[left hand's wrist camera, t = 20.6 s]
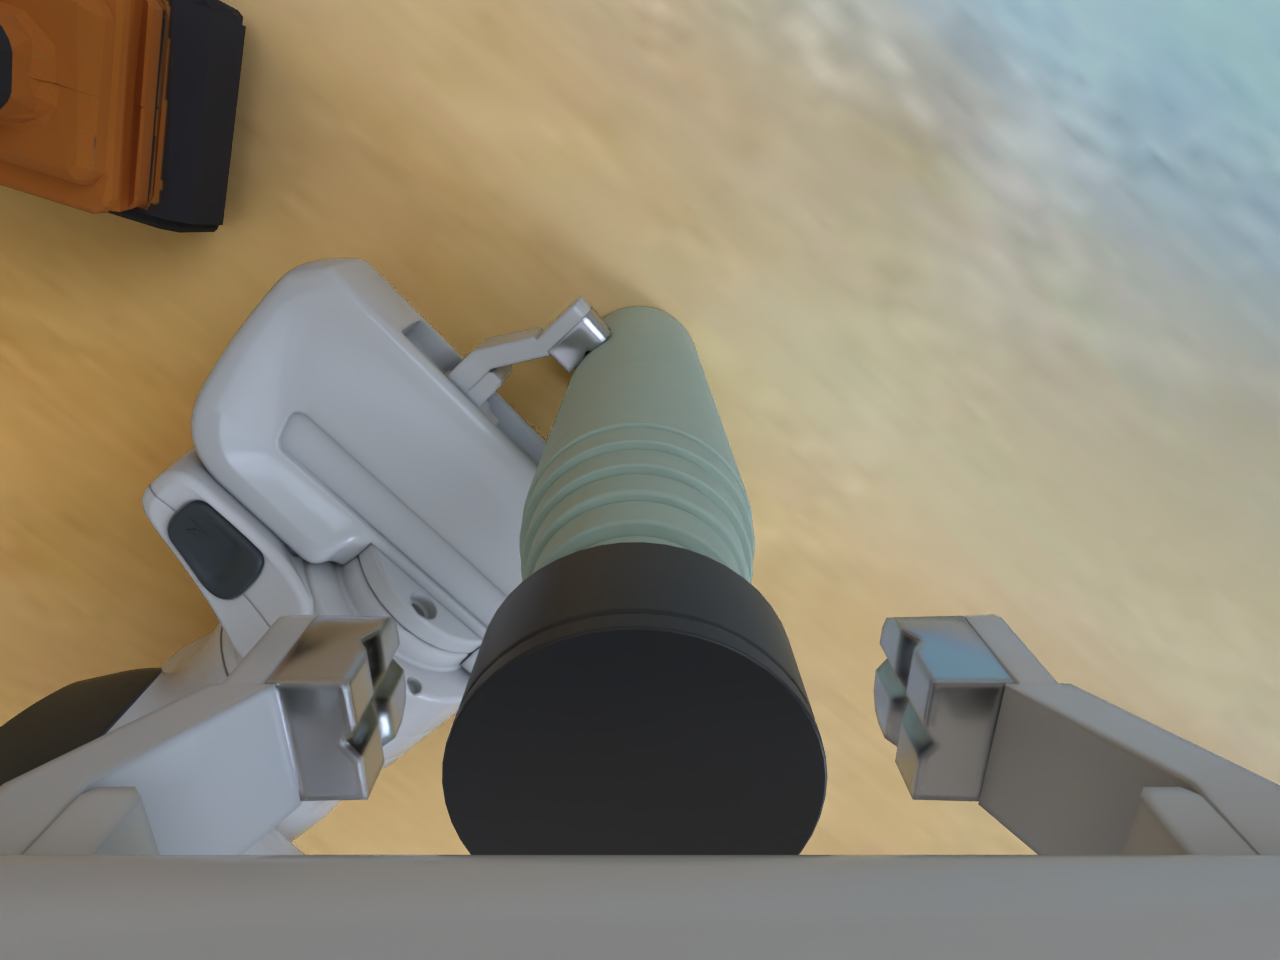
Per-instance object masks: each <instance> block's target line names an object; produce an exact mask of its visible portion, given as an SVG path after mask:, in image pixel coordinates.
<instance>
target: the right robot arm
mask: <svg viewBox="0 0 1280 960" xmlns="http://www.w3.org/2000/svg"><path fill="white" fill-rule="evenodd" d="M610 330H611V328H610V327H609V326H608V324H607V323H606V322H605V321H604V320H603V319H602V317H601V316H600V315H599V314H598V313H597V312H596V311H595V309H594V308H593V307H591V305H590V304H589V303H588V302H587V300H586V299H585V298H584V297H583V296H582V295H581V296H580V297H578V298H577V299H576V300H575V301H573V302H572V303H571V304H570V305H569V306H568V307H567V308H566V309H565V310H564V311H563V312H562V313H561V314H560V315H559V316H558V317H556V318H555V319H554V320H553V321H552V322H551V323H550V324H549V325H548V326H547V327H546V328H545V329H544V330H543V329H542V328H541V327H539V328H534V329H529V330H524V331H520V332H515V333H510V334H505V335H500V336H496V337H491V338H486V339H485V340H484V341H483V342H481V343H480V344H479V345H478V346H477V347H476V348H475V349H474V350H473V351H472V352H471V353H470V354H469V355H468V356H467V357H466V358H465V359H464V358H463V357H462V356H461V355H460V354H459V353H458V352H457V351H456V350H455V349H454V348H453V347H452V346H451V345H450V344H449V343H448V342H447V341H446V340H445V339H444V338H443V337H442V336H441V335H440V334H439V333H438V332H437V331H436V330H435V329H434V328H433V327H432V326H431V325H430V324H429V323H428V322H427V321H426V320H425V319H424V318H423V317H422V316H421V315H420V314H419V313H418V312H417V311H416V310H415V309H414V308H413V307H412V306H411V305H410V304H409V303H408V302H407V301H406V300H405V299H404V298H403V297H402V296H401V295H400V294H399V293H398V292H397V291H396V290H395V289H394V288H393V287H392V286H391V285H390V284H389V283H388V282H387V281H386V280H385V279H384V278H383V277H382V275H381V274H380V273H379V272H378V271H377V270H376V269H375V268H374V267H372V266H371V265H370V264H369V263H368V262H366V261H365V260H362V259H358V258H327V259H319V260H313V261H310V262H307V263H304V264H302V265H299V266H297V267H295V268H294V269H292V270H290V271H289V272H288V273H286V274H285V275H284V276H283V277H282V278H281V279H280V280H279V281H278V282H277V283H276V284H275V285H274V286H273V287H272V288H271V289H270V290H269V292H268V293H267V294H266V295H265V296H264V298H263V299H262V300H261V301H260V303H259V304H258V305H257V306H256V307H255V309H254V310H253V311H252V313H251V314H250V315H249V316H248V318H247V319H246V320H245V322H244V323H243V324H242V326H241V327H240V328H239V330H238V331H237V333H236V334H235V335H234V337H233V338H232V340H231V341H230V343H229V344H228V345H227V347H226V348H225V350H224V351H223V353H222V354H221V356H220V357H219V359H218V361H217V362H216V364H215V365H214V367H213V369H212V370H211V372H210V374H209V375H208V377H207V378H206V380H205V382H204V384H203V386H202V387H201V389H200V391H199V393H198V396H197V398H196V401H195V404H194V407H193V412H192V417H191V435H192V440H193V444H194V447H193V448H191V449H190V450H189V451H187V452H186V453H185V454H183V455H182V456H181V457H179V458H178V459H177V460H176V461H174V462H173V463H172V464H171V465H170V466H169V467H167V468H166V469H165V470H164V471H163V472H162V473H161V474H160V475H159V476H157V477H156V478H155V479H154V480H153V481H152V482H151V484H150V485H149V486H148V487H147V489H146V490H145V492H144V494H143V497H142V505H143V509H144V512H145V514H146V516H147V518H148V519H149V521H150V523H151V524H152V525H153V527H154V528H155V530H156V531H157V532H158V534H159V535H160V536H161V538H162V539H163V540H164V541H165V543H166V544H167V545H168V547H169V548H170V549H171V551H172V552H173V553H174V555H175V556H176V557H177V559H178V560H179V561H180V563H181V564H182V565H183V567H184V568H185V570H186V571H187V572H188V574H189V575H190V577H191V578H192V579H193V581H194V582H195V584H196V585H197V587H198V588H199V590H200V591H201V593H202V594H203V596H204V597H205V599H206V600H207V602H208V603H209V605H210V606H211V608H212V610H213V611H214V613H215V615H216V616H217V618H218V620H219V623H218V625H217V626H216V628H215V630H214V631H213V632H212V633H210V634H208V635H205V636H203V637H201V638H198V639H197V640H195V641H193V642H191V643H189V644H188V645H186V646H185V647H183V648H182V649H180V650H179V651H177V652H176V653H175V654H174V655H173V656H172V657H171V658H169V659H168V660H167V661H166V662H165V663H164V664H163V665H162V666H161V667H160V668H144V669H136V670H129V671H124V672H119V673H114V674H110V675H105V676H101V677H96V678H92V679H87V680H83V681H78V682H75V683H72V684H70V685H68V686H66V687H63V688H61V689H60V690H58V691H56V692H54V693H52V694H50V695H48V696H47V697H45V698H43V699H41V700H40V701H38V702H36V703H35V704H33V705H32V706H30V707H29V708H27V709H25V710H24V711H22V712H21V713H20V714H18V715H17V716H15V717H14V718H12V719H11V720H9V721H8V722H7V723H5V724H4V725H3V726H1V727H0V787H1V786H2V785H3V784H4V783H6V782H8V781H10V780H12V779H14V778H16V777H18V776H20V775H23V774H25V773H27V772H29V771H31V770H33V769H35V768H37V767H39V766H41V765H43V764H45V763H47V762H49V761H51V760H53V759H56V758H58V757H60V756H62V755H64V754H66V753H68V752H70V751H72V750H74V749H76V748H78V747H80V746H82V745H84V744H87V743H89V742H91V741H93V740H95V739H97V738H99V737H101V736H103V735H105V734H107V733H109V732H111V731H113V730H115V729H117V728H120V727H122V726H124V725H126V724H128V723H130V722H132V721H134V720H136V719H138V718H140V717H142V716H144V715H146V714H148V713H151V712H153V711H155V710H157V709H159V708H161V707H163V706H165V705H167V704H169V703H171V702H173V701H175V700H177V699H179V698H181V697H184V696H186V695H188V694H190V693H192V692H194V691H196V690H198V689H200V688H202V687H204V686H206V685H208V684H222V683H223V681H224V680H225V679H226V678H227V677H228V676H229V674H230V673H231V672H232V671H233V670H234V669H235V667H236V666H237V665H238V664H239V663H240V662H241V661H242V659H243V658H244V657H245V656H246V655H247V654H248V652H249V651H250V650H251V649H252V648H253V647H254V645H255V644H256V643H257V642H258V641H259V640H260V639H261V637H262V636H263V635H264V634H265V633H266V632H267V630H268V629H269V628H270V627H271V626H272V625H273V623H274V622H275V621H276V620H277V619H278V618H279V617H282V616H286V615H319V616H322V615H337V616H388V617H392V618H393V619H394V621H395V622H396V623H397V628H398V634H399V639H400V645H399V647H398V649H397V651H396V652H395V654H394V656H393V659H394V660H395V661H396V662H397V663H398V664H399V665H400V666H401V667H402V669H403V670H404V674H405V681H406V704H405V709H404V714H403V719H402V723H401V726H400V728H399V731H398V733H397V735H396V738H394V739H393V740H392V741H390V742H389V743H387V744H386V745H384V746H383V753H384V760H385V762H384V764H383V766H382V769H383V768H385V767H387V766H388V765H390V764H391V763H393V762H394V761H395V760H397V759H398V758H400V757H401V756H402V755H403V754H404V753H406V752H407V751H408V750H409V749H411V748H412V747H413V746H415V745H416V744H417V743H418V742H420V741H421V740H422V739H423V738H425V737H426V736H427V735H428V734H430V733H431V732H432V731H433V730H435V729H436V728H437V727H438V726H440V725H441V724H442V723H444V722H445V721H446V720H447V719H449V718H450V717H451V716H452V715H454V714H455V713H456V712H457V711H458V708H459V706H460V703H461V700H462V697H463V694H464V691H465V689H466V686H467V683H468V680H469V677H470V675H471V672H472V669H473V666H474V663H475V660H476V658H477V655H478V652H479V649H480V646H481V643H482V641H483V638H484V635H485V633H486V630H487V627H488V625H489V623H490V622H491V620H492V618H493V616H494V614H495V613H496V611H497V609H498V608H499V607H500V605H501V604H502V603H503V602H504V600H505V599H506V598H507V596H508V595H509V594H510V593H511V592H512V591H513V590H514V589H515V588H516V587H517V586H518V585H519V584H520V583H521V582H522V575H521V558H520V550H519V548H520V531H521V525H522V516H523V510H524V504H525V501H526V498H527V494H528V491H529V489H530V486H531V483H532V481H533V478H534V475H535V473H536V470H537V467H538V465H539V462H540V459H541V457H542V454H543V451H544V449H545V446H546V443H547V442H546V441H545V440H544V439H543V438H542V437H541V436H540V435H539V434H538V433H537V432H536V431H535V430H534V429H533V428H532V427H531V426H530V425H529V424H528V423H527V422H526V421H525V420H524V419H523V418H522V417H521V416H520V415H519V414H518V413H517V412H516V411H515V410H514V409H513V408H512V406H511V405H510V404H509V403H508V402H507V401H506V400H505V399H504V398H503V397H502V396H501V395H500V394H499V393H498V392H497V391H496V390H497V389H498V388H499V387H500V386H501V385H502V384H503V382H504V381H505V380H506V378H507V377H508V375H509V374H510V373H511V371H512V366H511V364H515V363H520V362H524V361H528V360H533V359H537V358H541V357H546V356H550V355H552V356H553V357H554V358H555V359H556V360H557V361H558V362H559V363H560V364H561V365H562V366H563V367H564V368H565V369H566V370H567V371H568V372H569V373H570V372H571V371H572V370H573V369H574V368H575V367H576V366H577V365H578V364H580V363H581V361H582V360H583V359H584V357H585V355H586V352H587V351H591V350H594V349H595V348H597V347H598V346H599V345H600V344H601V343H602V342H604V341H605V340H606V338H607V337H608V336H609V335H610ZM382 769H381V770H382ZM340 801H341V800H328V801H301V805H300V806H299V807H298V808H297V809H296V810H294V811H293V812H292V813H291V814H290V815H288V816H287V817H286V818H285V819H284V820H283V821H281V822H280V823H279V824H278V825H277V826H275V827H274V828H273V829H272V830H271V831H270V832H268V833H267V834H266V835H265V836H264V837H262V838H261V839H260V840H259V841H258V842H257V843H255V844H254V845H253V846H252V847H251V848H249V849H248V850H247V851H246V852H245V853H244V854H242V855H306V854H304V853H303V852H302V851H301V850H300V849H298V848H297V847H296V846H295V845H294V844H292V843H291V842H292V841H293V840H295V839H296V838H298V837H299V836H300V835H302V834H303V833H304V832H306V831H307V830H308V829H310V828H311V827H312V826H314V825H315V824H316V823H317V822H319V821H320V820H321V819H323V818H324V817H325V816H326V815H327V814H328V813H329V812H330V811H331V810H332V809H333V808H334V807H335V806H336V805H337V804H338V803H339V802H340Z"/></svg>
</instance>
